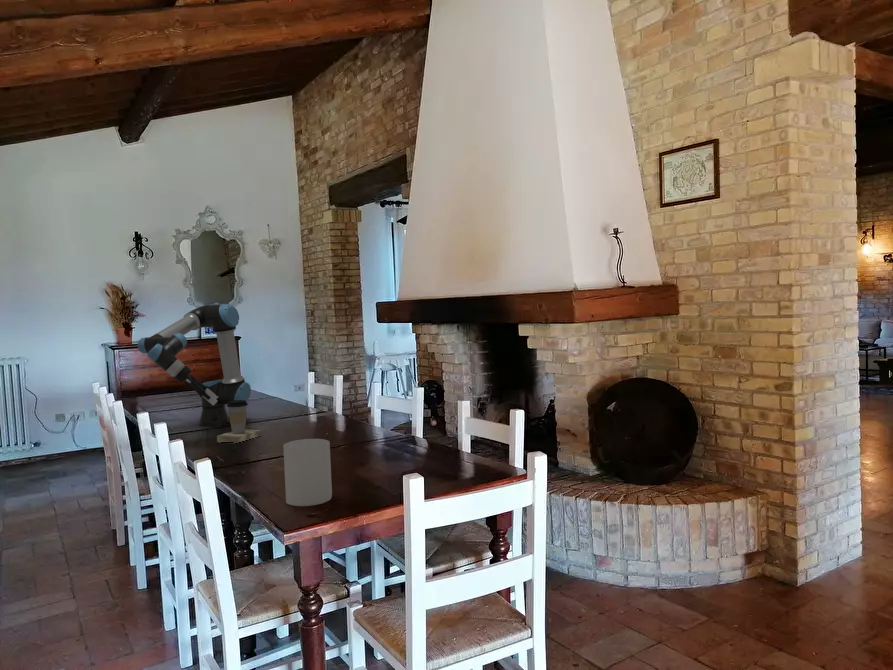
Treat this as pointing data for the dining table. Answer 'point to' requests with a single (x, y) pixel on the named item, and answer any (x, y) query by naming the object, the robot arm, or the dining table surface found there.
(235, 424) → the coffee cup
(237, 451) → the dining table surface
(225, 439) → the beige ridged slab
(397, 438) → the dining table surface
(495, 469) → the dining table surface
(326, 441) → the container
